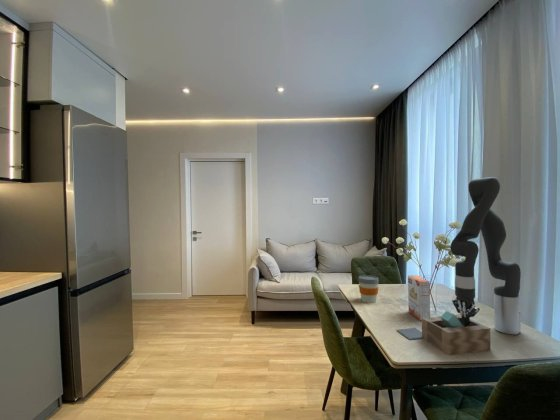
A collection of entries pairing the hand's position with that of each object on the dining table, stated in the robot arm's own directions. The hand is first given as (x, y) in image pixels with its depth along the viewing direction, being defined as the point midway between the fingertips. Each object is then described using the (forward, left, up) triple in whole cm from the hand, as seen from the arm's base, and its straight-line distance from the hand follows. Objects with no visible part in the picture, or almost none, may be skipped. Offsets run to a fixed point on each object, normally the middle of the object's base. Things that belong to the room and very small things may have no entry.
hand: (465, 324), depth 126 cm
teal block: (+6, 0, -2) cm, 7 cm away
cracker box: (0, -32, -8) cm, 33 cm away
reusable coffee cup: (+14, -62, -8) cm, 64 cm away
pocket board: (+6, 0, -8) cm, 10 cm away
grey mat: (+18, -12, -8) cm, 23 cm away
